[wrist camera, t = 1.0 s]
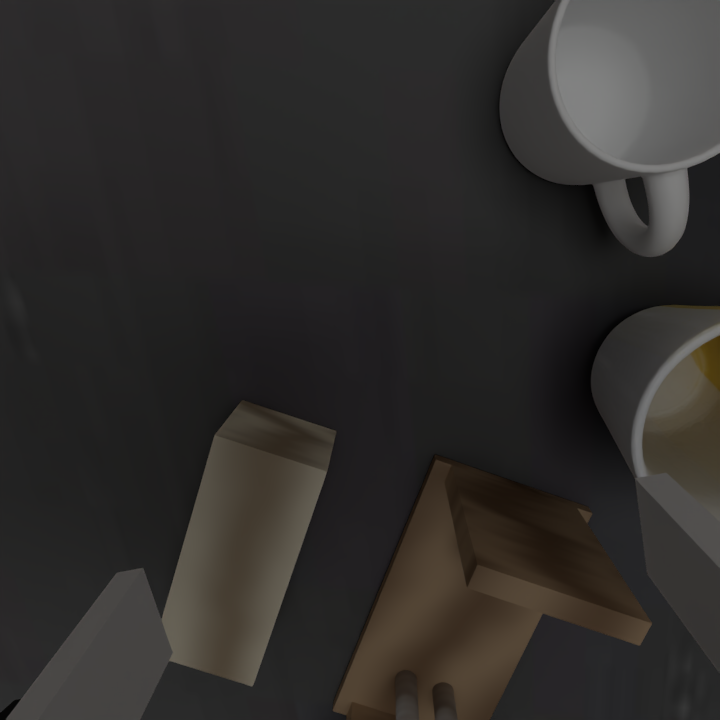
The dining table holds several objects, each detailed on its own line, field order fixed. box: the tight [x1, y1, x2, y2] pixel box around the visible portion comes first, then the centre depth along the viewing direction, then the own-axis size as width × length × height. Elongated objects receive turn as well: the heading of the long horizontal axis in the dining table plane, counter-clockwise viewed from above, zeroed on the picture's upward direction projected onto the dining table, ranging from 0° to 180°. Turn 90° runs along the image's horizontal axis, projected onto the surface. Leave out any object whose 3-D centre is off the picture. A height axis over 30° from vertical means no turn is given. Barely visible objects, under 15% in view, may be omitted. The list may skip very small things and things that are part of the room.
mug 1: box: [499, 0, 720, 257], centre depth 26 cm, size 12×8×10 cm
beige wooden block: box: [162, 400, 337, 687], centre depth 34 cm, size 6×14×6 cm, turn 162°
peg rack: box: [333, 454, 652, 720], centre depth 33 cm, size 10×19×11 cm, turn 161°
